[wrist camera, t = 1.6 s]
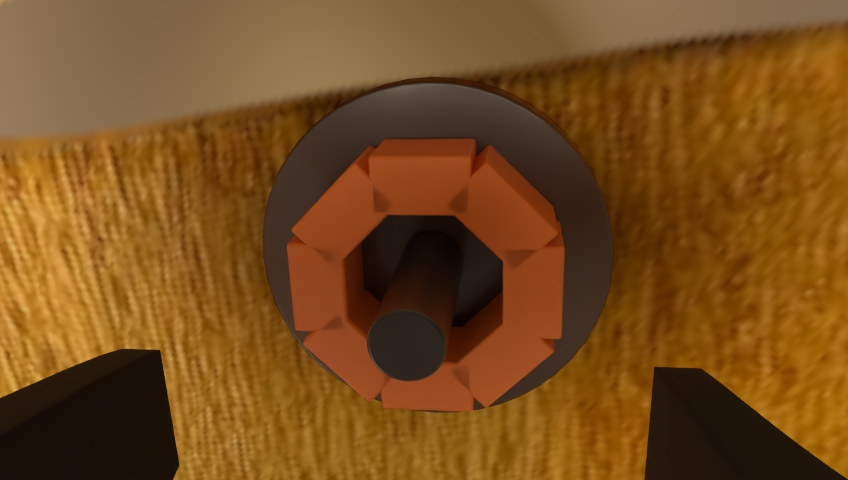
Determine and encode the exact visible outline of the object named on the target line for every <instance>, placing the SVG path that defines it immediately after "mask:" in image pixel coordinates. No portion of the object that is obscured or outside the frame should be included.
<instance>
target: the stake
mask: <svg viewBox="0 0 848 480" xmlns="http://www.w3.org/2000/svg"><path fill="white" fill-rule="evenodd" d="M385 139H475V141H476V156H477V155H478V154H479V153H480V152H481V151H482V150H483V149H484V148H485V147H486V146H487V145H491V146H492V147H493V148H494V149H495V150H496V151H497V152H498V153H499V154H500V155H501V156H502V157H503V158H504V159H505V160H506V161H507V162H508V163H509V164H510V165H511V166H512V167H513V168H514V169H516V170H517V171H518V172H519V173H520V174H521V175H522V176H523V177H524V178H525V179H526V180H527V181H528V182H529V183H530V184H531V185H532V186H533V187H534V188H535V189H536V190H537V191H538V192H539V193H540V194H541V195H542V196H543V197H544V198H545V199H546V200H547V201H548V202H549V203H550V204H551V205H552V206H553V208H554V212H555V218H556V220H558V221H559V222H560V226H561V232H562V237H563V242H564V247H565V258H564V285H563V312H562V337H561V338H560V339H553V343H554V353H552V354H551V355H550V356H549V357H548V358H546V359H545V360H544V361H543V362H541V363H540V364H539V365H538V366H537V367H535V368H534V369H533V370H532V371H531V372H529V373H528V374H527V375H526V376H525V377H523V378H522V379H521V380H520V381H518V382H517V383H516V384H515V385H514V386H512V387H511V388H510V389H509V390H508V391H506V392H505V393H504V394H503V395H502V396H500V397H499V398H498V399H497V400H495V401H494V402H493V403H492V404H491V405H489V406H488V407H491V406H495V405H498V404H501V403H504V402H507V401H509V400H512V399H514V398H517V397H519V396H521V395H523V394H525V393H527V392H529V391H531V390H533V389H534V388H536V387H538V386H540V385H541V384H542V383H544V382H545V381H547V380H548V379H549V378H551V377H552V376H554V375H555V374H556V373H557V372H558V371H559V370H560V369H561V368H563V367H564V366H565V365H566V364H567V363H568V362H569V361H570V360H571V359H572V358H573V357H574V355H575V354H576V353H577V352H578V351H579V349H580V348H581V347H582V346H583V345H584V343H585V342H586V340H587V339H588V337H589V335H590V334H591V332H592V330H593V329H594V327H595V326H596V324H597V321H598V319H599V317H600V314H601V312H602V310H603V308H604V305H605V302H606V298H607V295H608V291H609V288H610V284H611V277H612V269H613V236H612V229H611V223H610V217H609V214H608V210H607V207H606V204H605V201H604V197H603V194H602V192H601V190H600V187H599V185H598V183H597V181H596V179H595V177H594V175H593V172H592V170H591V168H590V166H589V165H588V163H587V162H586V160H585V159H584V157H583V155H582V154H581V152H580V151H579V149H578V148H577V146H576V145H575V144H574V143H573V142H572V141H571V140H570V138H569V137H568V136H567V135H566V134H565V133H564V131H563V130H562V129H561V128H559V127H558V126H557V125H556V124H555V123H554V122H553V121H551V120H550V119H549V118H548V117H547V116H546V115H545V114H543V113H542V112H540V111H539V110H537V109H536V108H534V107H533V106H531V105H530V104H528V103H527V102H525V101H524V100H522V99H519V98H517V97H515V96H513V95H511V94H509V93H507V92H505V91H503V90H500V89H497V88H494V87H491V86H488V85H485V84H482V83H478V82H473V81H468V80H462V79H457V78H440V77H427V78H415V79H406V80H402V81H397V82H393V83H388V84H384V85H382V86H379V87H376V88H374V89H371V90H368V91H366V92H363V93H361V94H359V95H358V96H356V97H354V98H352V99H350V100H348V101H346V102H345V103H343V104H341V105H340V106H338V107H337V108H335V109H334V110H333V111H331V112H330V113H328V114H327V115H326V116H324V117H323V118H322V119H320V120H319V121H318V122H317V123H316V124H315V125H314V126H313V127H312V128H311V129H310V130H308V131H307V132H306V133H305V134H304V135H303V136H302V137H301V139H300V140H299V141H298V143H297V144H296V145H295V147H294V148H293V149H292V150H291V152H290V153H289V154H288V156H287V158H286V160H285V161H284V163H283V165H282V167H281V168H280V170H279V172H278V174H277V176H276V179H275V181H274V184H273V186H272V189H271V192H270V194H269V198H268V203H267V207H266V211H265V216H264V227H263V257H264V263H265V268H266V274H267V279H268V282H269V285H270V289H271V292H272V295H273V298H274V300H275V303H276V305H277V307H278V309H279V311H280V313H281V316H282V318H283V319H284V321H285V323H286V324H287V326H288V327H289V329H290V331H291V332H292V334H293V335H294V337H295V338H296V339H297V340H298V342H299V343H300V344H301V345H302V347H303V348H304V349H305V350H306V352H307V353H308V354H309V355H310V356H311V357H312V358H313V359H314V360H315V361H316V362H317V363H319V364H320V365H321V366H322V367H323V368H324V369H325V370H327V371H328V372H329V373H331V374H332V375H333V376H334V377H336V378H337V379H338V380H340V381H342V382H343V383H345V384H346V385H348V384H347V383H346V382H345V381H344V380H343V379H342V378H340V377H339V376H338V375H337V374H336V373H335V372H334V371H332V370H331V369H330V368H329V367H328V366H327V365H326V364H325V363H323V362H322V361H321V360H320V359H319V358H318V357H317V356H315V355H314V354H313V353H312V352H311V351H310V350H309V349H307V348H306V347H305V346H304V344H303V341H304V339H305V337H306V335H307V334H308V332H309V331H297V330H296V329H295V326H294V316H293V305H292V295H291V285H290V275H289V264H288V254H287V244H288V243H289V242H290V240H291V239H292V238H293V237H294V236H295V234H294V233H293V232H292V227H293V226H294V225H295V224H296V223H297V222H298V221H299V220H300V219H301V218H302V217H303V216H304V215H305V214H306V213H307V211H308V210H309V209H310V208H311V207H312V206H313V205H314V204H315V203H316V202H317V201H318V200H319V199H320V198H321V196H322V195H323V194H324V193H325V192H326V191H327V190H328V189H329V188H330V187H331V186H332V185H333V184H334V183H335V182H336V180H337V179H338V178H339V177H340V176H341V175H342V174H343V173H344V172H345V171H346V170H347V169H348V168H349V167H350V165H351V164H352V163H353V162H354V161H355V160H356V159H357V158H358V157H359V156H360V155H361V154H362V153H363V152H364V151H365V150H366V149H367V148H368V147H369V146H373V147H374V148H375V149H376V148H377V147H378V146H379V145H380V144H381V143H382V142H383V141H384V140H385ZM362 259H363V275H364V288H365V289H366V290H367V291H369V292H370V293H371V294H372V295H373V296H374V297H375V298H376V299H377V300H378V301H380V302H381V303H380V306H379V308H378V310H377V313H376V315H375V317H374V320H373V322H372V324H371V326H370V329H369V331H368V335H367V349H368V353H369V356H370V358H371V360H372V361H373V363H374V364H375V366H376V367H377V368H378V369H379V370H380V371H381V372H383V373H384V374H386V375H387V376H389V377H391V378H393V379H396V380H400V381H418V380H422V379H425V378H427V377H429V376H431V375H432V374H434V373H435V372H436V371H437V370H438V369H439V368H440V367H441V365H442V364H443V362H444V360H445V357H446V353H447V348H448V343H449V337H450V332H451V327H463V326H464V325H465V324H466V323H467V322H468V321H469V320H470V319H472V318H473V317H474V316H475V315H476V314H477V313H478V312H479V311H481V310H482V309H483V308H484V307H485V306H486V305H487V304H488V303H490V302H491V301H492V300H493V299H494V298H495V297H496V296H497V295H499V294H500V293H501V292H502V291H503V261H502V260H501V259H500V258H498V257H497V256H496V255H495V254H494V253H493V252H492V251H491V250H490V249H489V248H488V247H487V246H486V245H485V244H484V243H483V242H482V241H481V240H480V239H478V238H477V237H476V236H475V235H474V234H473V233H472V232H471V231H470V230H469V229H468V228H467V227H466V226H465V225H464V224H463V223H462V222H461V221H460V220H459V219H457V218H456V217H455V216H441V215H388V216H387V217H386V218H385V219H384V220H383V221H382V222H381V223H380V224H379V225H378V226H377V227H376V228H375V229H374V230H373V231H372V232H371V233H370V234H369V235H368V236H367V237H366V238H365V239H364V240H363V241H362ZM348 386H350V385H348ZM350 387H351V386H350ZM351 388H352V387H351ZM374 399H376V400H379V401H382V400H381V393H379V394H378V395H377V396H376V397H375V398H374ZM483 408H486V407H484V406H483V405H482V404H481V403H480V402H479V401H478V400H477V399H474V408H473V410H478V409H483ZM412 410H414V409H412ZM417 411H427V412H462V411H438V410H417Z"/></svg>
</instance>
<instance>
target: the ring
mask: <svg viewBox="0 0 848 480" xmlns="http://www.w3.org/2000/svg"><path fill="white" fill-rule="evenodd" d="M388 215H441V216H455V217H456V218H457V219H459V220H460V221H461V222H462V223H463V224H464V225H465V226H466V227H467V228H468V229H469V230H470V231H471V232H472V233H473V234H474V235H475V236H476V237H477V238H478V239H480V240H481V241H482V242H483V243H484V244H485V245H486V246H487V247H488V248H489V249H490V250H491V251H492V252H493V253H494V254H495V255H496V256H497V257H498V258H500V259H501V260H502V261H503V291H502V292H501V293H500V294H499V295H497V296H496V297H495V298H494V299H493V300H492V301H491V302H490V303H488V304H487V305H486V306H485V307H484V308H483V309H482V310H481V311H479V312H478V313H477V314H476V315H475V316H474V317H473V318H472V319H470V320H469V321H468V322H467V323H466V324H465V325H464V326H463V327H451V332H450V337H449V343H448V348H447V353H446V357H445V360H444V362H443V364H442V365H441V367H440V368H439V369H438V370H437V371H436V372H435V373H434V374H432V375H431V376H429V377H427V378H425V379H422V380H418V381H400V380H396V379H393V378H391V377H389V376H387V375H386V374H384V373H383V372H381V371H380V370H379V369H378V368H377V367H376V366H375V364H374V363H373V361H372V360H371V358H370V356H369V353H368V349H367V335H368V331H369V329H370V326H371V324H372V322H373V320H374V317H375V315H376V313H377V310H378V308H379V306H380V303H381V302H380V301H378V300H377V299H376V298H375V297H374V296H373V295H372V294H371V293H370V292H369V291H367V290H366V289H365V288H364V275H363V259H362V241H363V240H364V239H365V238H366V237H367V236H368V235H369V234H370V233H371V232H372V231H373V230H374V229H375V228H376V227H377V226H378V225H379V224H380V223H381V222H382V221H383V220H384V219H385V218H386V217H387V216H388ZM292 232H293V233H294V234H295V236H294V237H293V238H292V239H291V240H290V242H289V243H288V244H287V254H288V264H289V275H290V285H291V295H292V305H293V316H294V326H295V329H296V330H297V331H309V332H308V334H307V335H306V337H305V339H304V341H303V344H304V346H305V347H306V348H307V349H309V350H310V351H311V352H312V353H313V354H314V355H315V356H317V357H318V358H319V359H320V360H321V361H322V362H323V363H325V364H326V365H327V366H328V367H329V368H330V369H331V370H332V371H334V372H335V373H336V374H337V375H338V376H339V377H340V378H342V379H343V380H344V381H345V382H346V383H347V384H348V385H350V386H351V387H352V388H353V389H354V390H355V391H356V392H358V393H359V394H360V395H361V396H362V397H363V398H364V399H365V400H367V401H371V400H373V399H374V398H375V397H376V396H377V395H378V394H379V393H381V400H382V406H383V408H390V409H414V410H438V411H462V412H471V411H472V410H473V408H474V399H477V400H478V401H479V402H480V403H481V404H482V405H483V406H484V407H486V408H487V407H488V406H489V405H491V404H492V403H493V402H494V401H495V400H497V399H498V398H499V397H500V396H502V395H503V394H504V393H505V392H506V391H508V390H509V389H510V388H511V387H512V386H514V385H515V384H516V383H517V382H518V381H520V380H521V379H522V378H523V377H525V376H526V375H527V374H528V373H529V372H531V371H532V370H533V369H534V368H535V367H537V366H538V365H539V364H540V363H541V362H543V361H544V360H545V359H546V358H548V357H549V356H550V355H551V354H552V353H554V343H553V339H560V338H561V337H562V312H563V285H564V258H565V247H564V242H563V237H562V232H561V226H560V222H559V221H558V220H556V218H555V212H554V208H553V206H552V205H551V204H550V203H549V202H548V201H547V200H546V199H545V198H544V197H543V196H542V195H541V194H540V193H539V192H538V191H537V190H536V189H535V188H534V187H533V186H532V185H531V184H530V183H529V182H528V181H527V180H526V179H525V178H524V177H523V176H522V175H521V174H520V173H519V172H518V171H517V170H516V169H514V168H513V167H512V166H511V165H510V164H509V163H508V162H507V161H506V160H505V159H504V158H503V157H502V156H501V155H500V154H499V153H498V152H497V151H496V150H495V149H494V148H493V147H492V146H491V145H487V146H486V147H485V148H484V149H483V150H482V151H481V152H480V153H479V154H478V155H477V156H476V141H475V139H385V140H384V141H383V142H382V143H381V144H380V145H379V146H378V147H377V148H376V149H375V148H374V147H373V146H369V147H368V148H367V149H366V150H365V151H364V152H363V153H362V154H361V155H360V156H359V157H358V158H357V159H356V160H355V161H354V162H353V163H352V164H351V165H350V167H349V168H348V169H347V170H346V171H345V172H344V173H343V174H342V175H341V176H340V177H339V178H338V179H337V180H336V182H335V183H334V184H333V185H332V186H331V187H330V188H329V189H328V190H327V191H326V192H325V193H324V194H323V195H322V196H321V198H320V199H319V200H318V201H317V202H316V203H315V204H314V205H313V206H312V207H311V208H310V209H309V210H308V211H307V213H306V214H305V215H304V216H303V217H302V218H301V219H300V220H299V221H298V222H297V223H296V224H295V225H294V226H293V227H292Z"/></svg>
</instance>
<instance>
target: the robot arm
mask: <svg viewBox="0 0 848 480" xmlns="http://www.w3.org/2000/svg"><path fill="white" fill-rule="evenodd" d="M178 467H179V460H178V454H177V448H176V442H175V436H174V430H173V424H172V418H171V412H170V406H169V400H168V394H167V388H166V382H165V376H164V370H163V364H162V358H161V352H160V350H144V349H120V350H116V351H113V352H110V353H106V354H104V355H101V356H98V357H95V358H93V359H90V360H88V361H85V362H83V363H80V364H78V365H75V366H73V367H70V368H68V369H66V370H63V371H61V372H59V373H56V374H54V375H52V376H50V377H47V378H45V379H43V380H40V381H38V382H36V383H34V384H31V385H29V386H27V387H24V388H22V389H20V390H18V391H15V392H13V393H11V394H9V395H6V396H4V397H2V398H0V480H173V478H174V476H175V474H176V471H177V469H178ZM645 480H848V479H846V478H845V477H843V476H842V475H840V474H839V473H838V472H836V471H835V470H833V469H832V468H830V467H829V466H828V465H826V464H825V463H823V462H822V461H821V460H819V459H818V458H816V457H815V456H814V455H812V454H811V453H810V452H808V451H807V450H805V449H804V448H803V447H801V446H800V445H799V444H797V443H796V442H795V441H793V440H792V439H791V438H790V437H788V436H787V435H786V434H784V433H783V432H782V431H780V430H779V429H778V428H776V427H775V426H774V425H773V424H771V423H770V422H769V421H768V420H766V419H765V418H764V417H762V416H761V415H760V414H759V413H757V412H756V411H755V410H754V409H752V408H751V407H750V406H749V405H747V404H746V403H745V402H744V401H742V400H741V399H740V398H739V397H737V396H736V395H735V394H734V393H732V392H731V391H730V390H729V389H727V388H726V387H725V386H724V385H722V384H721V383H720V382H718V381H717V380H716V379H715V378H713V377H712V376H711V375H709V374H708V373H706V372H705V371H703V370H702V369H698V368H669V367H654V378H653V389H652V401H651V412H650V424H649V435H648V447H647V458H646V470H645Z"/></svg>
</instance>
